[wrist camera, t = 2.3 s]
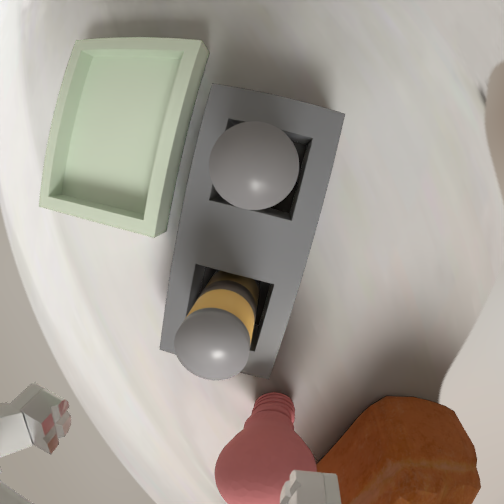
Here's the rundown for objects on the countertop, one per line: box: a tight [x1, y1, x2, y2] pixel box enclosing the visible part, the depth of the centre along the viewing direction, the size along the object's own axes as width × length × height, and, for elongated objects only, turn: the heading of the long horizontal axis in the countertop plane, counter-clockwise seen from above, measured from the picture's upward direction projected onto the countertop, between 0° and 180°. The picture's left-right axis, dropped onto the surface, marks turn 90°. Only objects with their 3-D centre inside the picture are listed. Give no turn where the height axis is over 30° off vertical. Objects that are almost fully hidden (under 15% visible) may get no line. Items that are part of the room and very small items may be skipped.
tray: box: [39, 37, 209, 238], centre depth 20 cm, size 14×11×2 cm
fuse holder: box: [160, 83, 345, 379], centre depth 21 cm, size 18×8×4 cm, turn 166°
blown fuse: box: [174, 270, 260, 380], centre depth 19 cm, size 4×4×9 cm
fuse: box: [209, 121, 299, 210], centre depth 17 cm, size 4×4×9 cm
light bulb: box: [215, 392, 317, 504], centre depth 20 cm, size 7×7×12 cm
